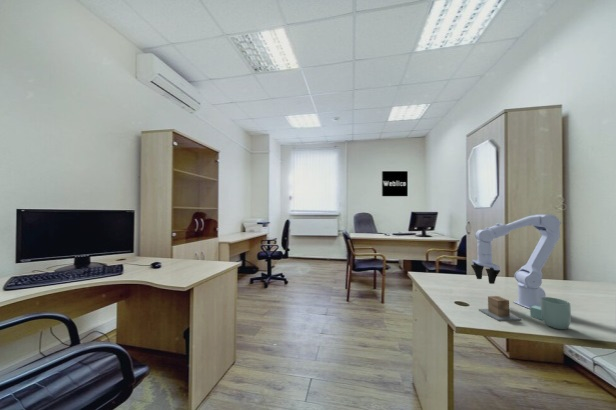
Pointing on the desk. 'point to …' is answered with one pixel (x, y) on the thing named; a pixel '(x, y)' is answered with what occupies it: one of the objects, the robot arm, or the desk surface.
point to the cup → (556, 312)
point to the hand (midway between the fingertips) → (485, 281)
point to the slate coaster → (499, 318)
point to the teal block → (536, 312)
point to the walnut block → (498, 306)
